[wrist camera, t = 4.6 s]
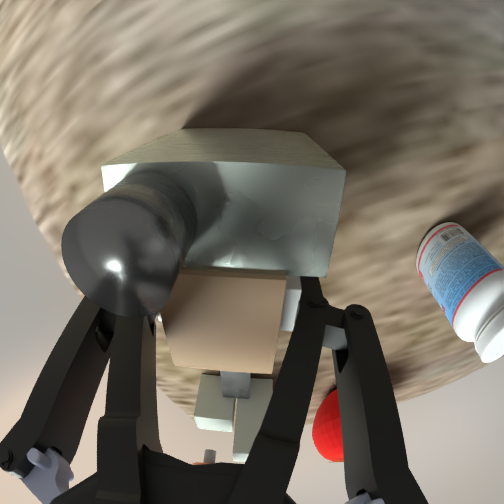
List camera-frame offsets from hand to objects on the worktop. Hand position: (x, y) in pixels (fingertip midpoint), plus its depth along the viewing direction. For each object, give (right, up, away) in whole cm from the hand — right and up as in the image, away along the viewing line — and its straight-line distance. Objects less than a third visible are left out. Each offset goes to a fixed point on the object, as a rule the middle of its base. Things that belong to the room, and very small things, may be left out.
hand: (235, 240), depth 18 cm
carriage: (0, +1, +2) cm, 2 cm away
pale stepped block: (-1, -18, +13) cm, 22 cm away
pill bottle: (+18, -1, +2) cm, 18 cm away
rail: (0, -4, +5) cm, 7 cm away
